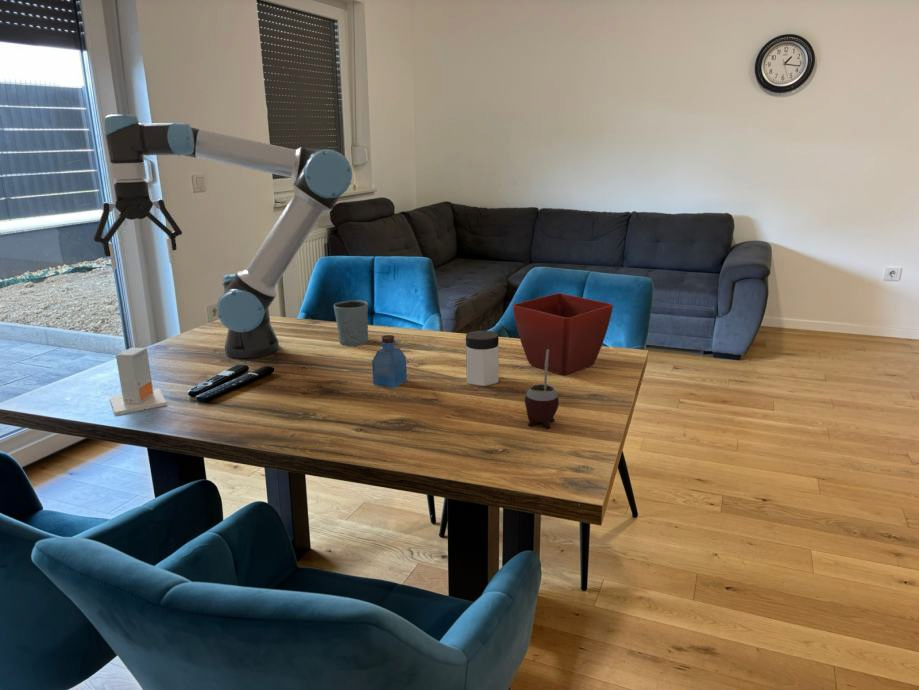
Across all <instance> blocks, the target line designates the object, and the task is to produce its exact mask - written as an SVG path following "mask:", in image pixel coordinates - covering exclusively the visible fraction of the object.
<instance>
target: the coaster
mask: <svg viewBox="0 0 919 690" xmlns="http://www.w3.org/2000/svg"><path fill="white" fill-rule="evenodd" d="M153 393H154V395H153V396H151V397H149V398H148V399H146V400H145V401H143V402H141V403H140V404H130V403H124V402H123V396H122V394H120V395H115V396H110V397H109V401H110V404H111V408H112V407H113V408H112V411H113V413H114V416H119V415H118V414H120V415H123V414H122V413H125V414H129V412H130V413H135V412H139V410H140V411H144V409H145V410H150V409H154V408H159V407H164V406H167V405H168V404H167V400H166V399H165V397H164V395H163V393H162V391H161V389H160V388H153ZM134 411H135V412H134Z"/></svg>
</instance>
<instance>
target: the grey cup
mask: <svg viewBox="0 0 919 690" xmlns="http://www.w3.org/2000/svg"><path fill="white" fill-rule="evenodd" d="M368 305H369V303H368V302H367V301H366V300H360V299H358V300H357V299H356V300H355V299H354V300H353V299H352V300H344V301H340V302H335V303H334V304H333V311H334V316H335V321H336V327H337V331H338V334H337V335H338V341H339V343H340V345H341V346H343V347H344V346H345V347H358V346H364V345H367V344H368V343H369V321H368V317H369V316H368V311H369V308H368V307H369V306H368Z"/></svg>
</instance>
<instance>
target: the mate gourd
mask: <svg viewBox="0 0 919 690" xmlns="http://www.w3.org/2000/svg"><path fill="white" fill-rule="evenodd" d="M548 356H549V349H547V351H546V360H545V366H544V367H545V369H544V378H543V384H534V385H532V386H530V387H529V388H528V390H527V391H526V392H525V393H526V394H525V397H524V405H525V408H526V414H527V419H528V423H527V426H528V427H529V428H531V427H535V426H542V427H543V428H544V429H546V430H550V429H551V426H550V423H555V421H556V419H555V418H554V417H555V415H556V412H557V411H558V408H559V405H560V404H559V403H560V402H559V394H558V392H557V390H556V389H555V388H554V387H553V386H552V385H548Z"/></svg>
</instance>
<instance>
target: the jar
mask: <svg viewBox="0 0 919 690" xmlns="http://www.w3.org/2000/svg"><path fill="white" fill-rule="evenodd" d="M499 343H500V342H499V334H498V333H497V332H495V331H491V330H474V331H471V332H467V333H466V335H465V357H466V358H465V359H466V360H465V363H466V365H465V366H466V383H467V384H468V385H472V386H473V385H474V386H479V387H486V386H490V385H495V384H498V383H499V375H500V371H499V367H500V364H499V363H500V357H499V353H500V352H499Z"/></svg>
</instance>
